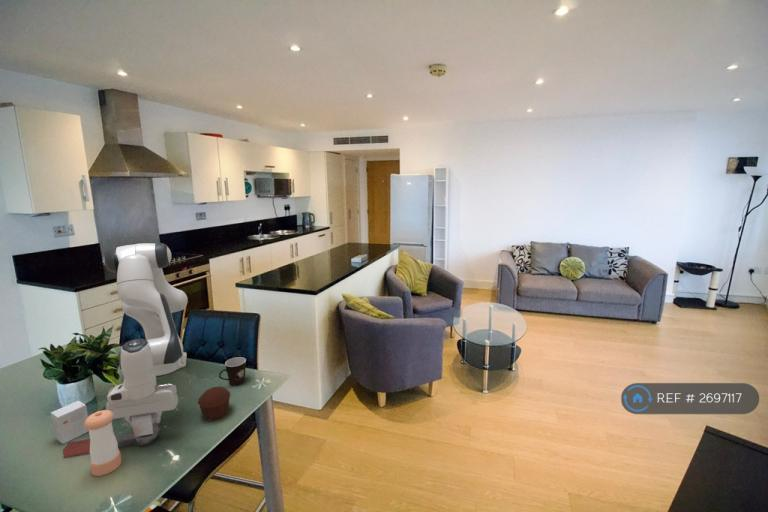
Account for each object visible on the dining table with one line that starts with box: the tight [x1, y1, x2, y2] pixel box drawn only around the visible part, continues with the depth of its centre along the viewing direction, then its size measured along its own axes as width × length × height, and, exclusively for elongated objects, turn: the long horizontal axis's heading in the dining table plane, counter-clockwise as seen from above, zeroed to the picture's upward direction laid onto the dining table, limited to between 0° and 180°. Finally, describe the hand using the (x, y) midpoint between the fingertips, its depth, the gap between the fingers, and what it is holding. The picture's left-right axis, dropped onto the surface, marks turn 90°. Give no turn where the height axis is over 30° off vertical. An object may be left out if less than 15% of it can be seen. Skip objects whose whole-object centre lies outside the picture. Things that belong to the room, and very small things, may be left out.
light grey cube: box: [131, 412, 160, 437], centre depth 117 cm, size 6×6×7 cm
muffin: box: [197, 386, 231, 421], centre depth 131 cm, size 12×11×10 cm
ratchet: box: [62, 425, 161, 459], centre depth 115 cm, size 7×26×6 cm, turn 107°
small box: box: [50, 400, 89, 445], centre depth 119 cm, size 8×6×10 cm
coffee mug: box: [218, 356, 247, 387], centre depth 152 cm, size 12×9×10 cm
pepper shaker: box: [84, 409, 123, 477], centre depth 104 cm, size 7×7×19 cm
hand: (146, 423), depth 117 cm, fingers closed on light grey cube, 5 cm apart
